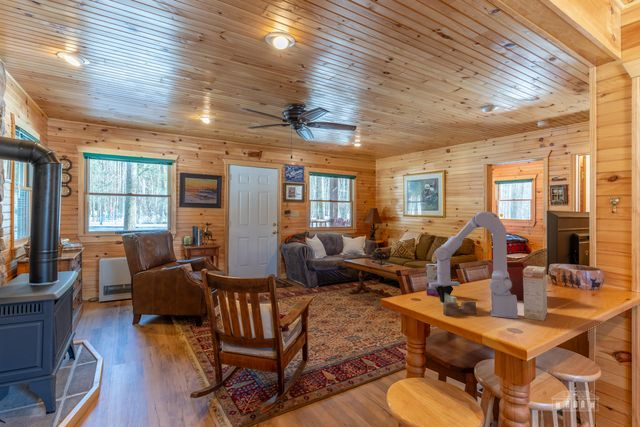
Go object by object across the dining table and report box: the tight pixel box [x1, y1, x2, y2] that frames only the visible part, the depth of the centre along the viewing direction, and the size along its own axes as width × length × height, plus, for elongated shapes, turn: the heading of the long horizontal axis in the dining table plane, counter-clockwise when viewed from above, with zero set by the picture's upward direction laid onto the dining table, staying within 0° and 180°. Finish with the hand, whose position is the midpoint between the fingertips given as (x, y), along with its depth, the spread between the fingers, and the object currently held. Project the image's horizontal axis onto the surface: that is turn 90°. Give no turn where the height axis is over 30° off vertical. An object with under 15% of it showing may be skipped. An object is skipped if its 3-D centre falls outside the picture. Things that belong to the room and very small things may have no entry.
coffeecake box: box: [523, 265, 548, 322], centre depth 137 cm, size 15×7×20 cm, turn 141°
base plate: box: [442, 300, 477, 317], centre depth 140 cm, size 14×2×5 cm, turn 100°
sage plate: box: [440, 293, 457, 306], centre depth 151 cm, size 10×2×6 cm, turn 10°
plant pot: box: [487, 261, 542, 301], centre depth 167 cm, size 19×19×17 cm
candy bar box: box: [425, 263, 442, 297], centre depth 175 cm, size 11×5×16 cm, turn 73°
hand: (444, 302), depth 154 cm, fingers closed on sage plate, 2 cm apart
